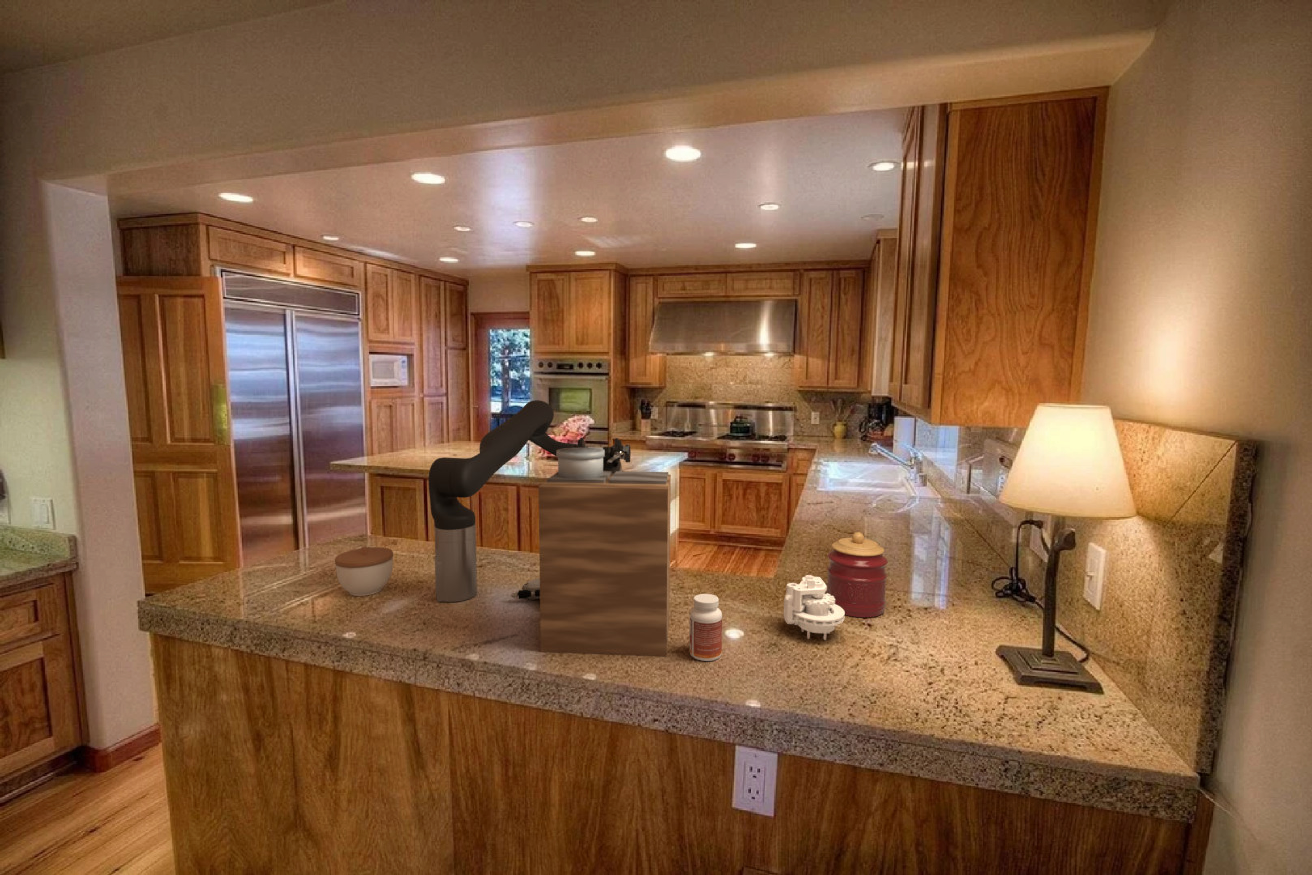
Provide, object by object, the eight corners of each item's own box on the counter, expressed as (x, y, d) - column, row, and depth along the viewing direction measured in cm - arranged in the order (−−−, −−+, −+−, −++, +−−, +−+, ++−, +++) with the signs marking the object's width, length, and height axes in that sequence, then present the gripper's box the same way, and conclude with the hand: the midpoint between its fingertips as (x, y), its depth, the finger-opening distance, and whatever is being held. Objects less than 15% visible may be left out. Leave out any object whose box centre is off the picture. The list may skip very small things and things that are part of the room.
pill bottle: (728, 656, 108) (729, 599, 107) (703, 665, 104) (704, 607, 103) (707, 643, 113) (708, 589, 112) (682, 652, 109) (683, 596, 108)
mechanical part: (837, 651, 110) (839, 591, 109) (776, 637, 116) (778, 580, 115) (848, 629, 120) (851, 574, 119) (792, 617, 126) (794, 565, 125)
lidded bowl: (365, 603, 132) (363, 557, 131) (324, 596, 136) (321, 551, 135) (405, 585, 144) (404, 542, 142) (366, 579, 148) (364, 537, 146)
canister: (836, 592, 141) (838, 522, 139) (891, 604, 133) (895, 531, 131) (817, 609, 130) (820, 534, 128) (876, 623, 123) (880, 543, 121)
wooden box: (666, 656, 108) (667, 485, 104) (540, 651, 109) (538, 483, 106) (669, 620, 123) (670, 471, 120) (559, 617, 125) (558, 469, 122)
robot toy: (508, 608, 132) (565, 613, 127) (507, 589, 132) (563, 593, 126) (537, 590, 143) (590, 594, 138) (536, 572, 143) (589, 576, 138)
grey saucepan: (600, 479, 110) (600, 453, 110) (551, 478, 111) (551, 453, 110) (615, 462, 133) (615, 441, 132) (575, 462, 133) (574, 440, 133)
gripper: (582, 452, 155) (571, 427, 140) (634, 453, 154) (628, 427, 139) (579, 478, 151) (567, 455, 137) (632, 479, 151) (627, 456, 136)
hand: (598, 441), depth 138 cm, fingers open, 8 cm apart
